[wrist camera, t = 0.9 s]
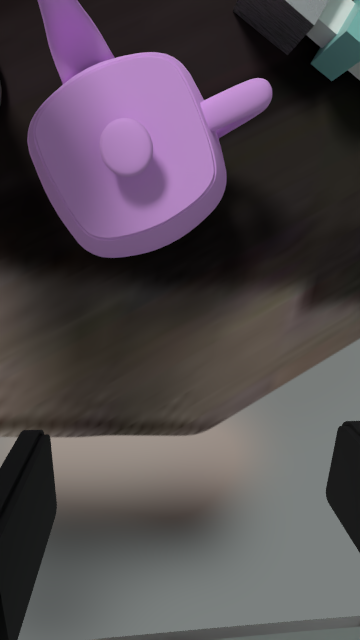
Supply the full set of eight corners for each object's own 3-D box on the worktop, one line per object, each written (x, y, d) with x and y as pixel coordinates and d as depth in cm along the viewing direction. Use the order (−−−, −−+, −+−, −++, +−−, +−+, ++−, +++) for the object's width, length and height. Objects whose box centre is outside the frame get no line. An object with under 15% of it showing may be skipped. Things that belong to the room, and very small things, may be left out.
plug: (240, 6, 34) (263, -43, 27) (268, -46, 33) (297, -109, 26) (375, 117, 38) (422, 97, 31) (403, 74, 37) (457, 45, 30)
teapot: (261, 196, 40) (325, 186, 25) (100, 272, 41) (75, 305, 26) (181, -34, 33) (208, -227, 18) (-12, 66, 33) (-129, -44, 19)
